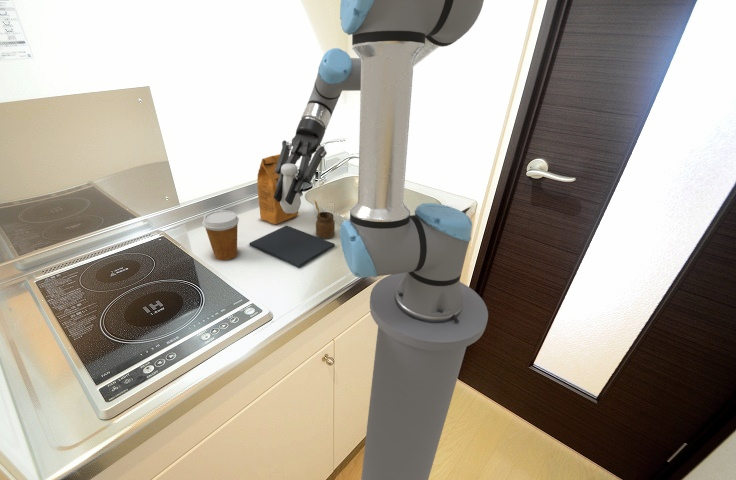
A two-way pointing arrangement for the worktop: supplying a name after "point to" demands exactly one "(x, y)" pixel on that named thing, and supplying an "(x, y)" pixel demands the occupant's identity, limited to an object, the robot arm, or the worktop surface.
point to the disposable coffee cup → (222, 233)
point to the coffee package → (270, 192)
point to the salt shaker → (288, 177)
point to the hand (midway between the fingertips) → (282, 201)
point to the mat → (292, 245)
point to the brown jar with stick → (325, 224)
